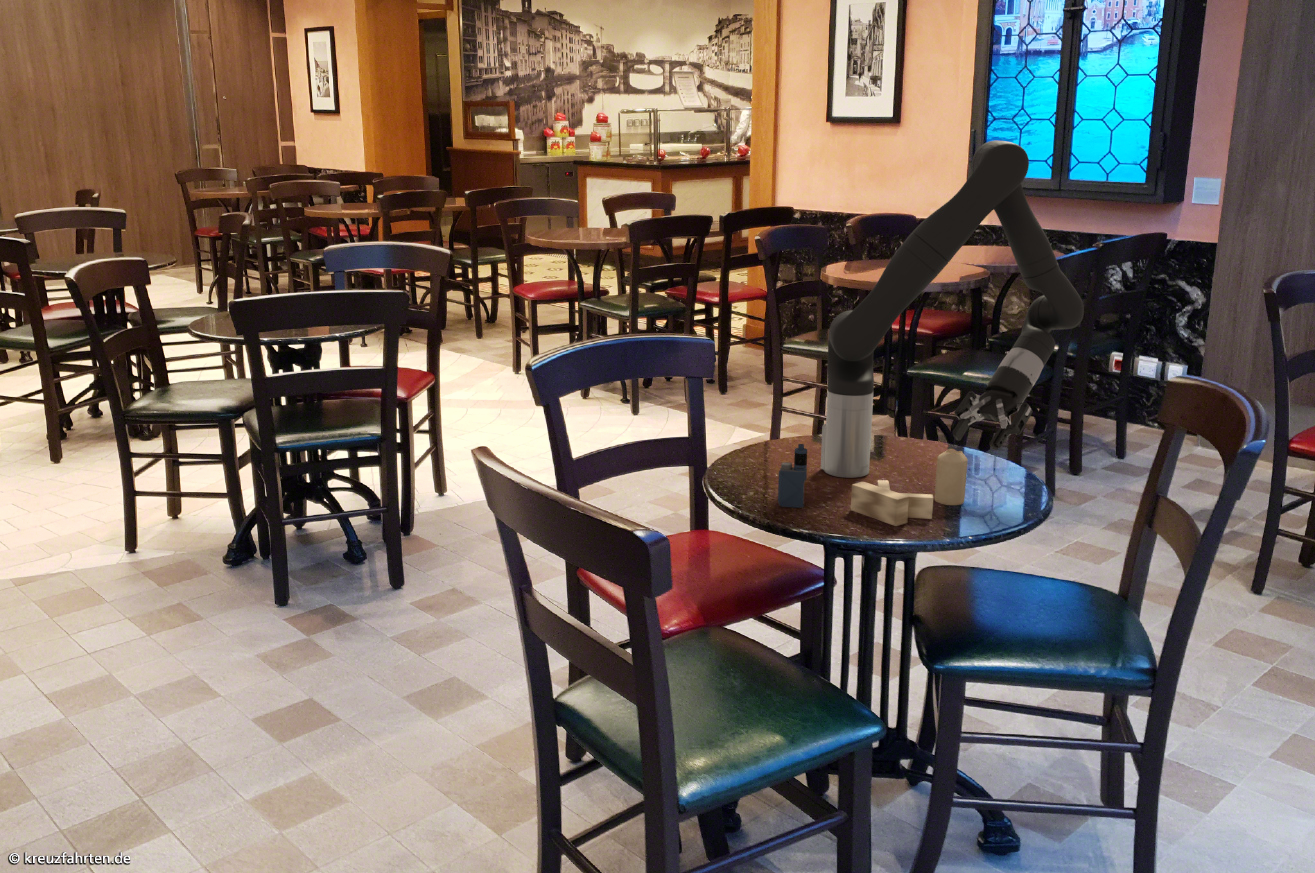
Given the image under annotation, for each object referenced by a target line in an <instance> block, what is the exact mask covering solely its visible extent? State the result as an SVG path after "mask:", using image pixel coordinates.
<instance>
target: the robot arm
mask: <svg viewBox="0 0 1315 873" xmlns="http://www.w3.org/2000/svg"><path fill="white" fill-rule="evenodd" d="M970 165H971V166H970V167H971V173H972V174H971V175H970V176H969V178H968V179H967V181H965V182H964V184H963V185H962V187H961V188H960V189H959V190H958V191H957V193H956V194H954V196H952V198H950V199H949V200H948V201H947V202H945V203H944V204H943V205H941V206H940V207H939V208H937V209H936V210H935V211H934V212H932V213H931V214H930V215H929V216H928V217H926V218H925V219H924V220H923V221H922V222H920V224H918V225H917V226H916V228H915V229H914V230H913V231H912V232H911V233H910V234H909V235H908V236H907V238H906V239H905V240H903V242H902V244H901V245H900V246H899V247H898V248H897V250H896V251H895V252H894V254H893V255H892V257H891V259H890V260H889V261H888V263H887V265H886V267H885V268H884V270H883V272H882V274H881V275H880V277H879V278H878V280H877V283H876V284H875V285H874V287H873V288H872V289H871V291H870V292H869V293H868V295H867V296H866V297H865V298H864V299H863V300H862V301H861V302H859V304H858V305H857V306H856V307H855V308H854V309H853V310H852V309H851V310H846V311H843V312H841V313H839V314H838V315H836V316H835V318H833V320H832V322H831V323H830V325H829V329H828V339H827V340H828V341H827V368H826V370H827V371H826V372H827V392H826V393H827V396H826V417H825V418H826V419H825V420H826V421H825V422H826V423H824V424H823V425H822V427H821V428H822V430H821V449H820V450H821V454H820V469H821V470H823V472H825V473H826V474H827V475H830V476H833V477H838V478H845V479H846V478H848V479H849V478H850V479H851V478H861V477H864V476H867V475H869V473H870V460H871V458H870V457H871V447H872V446H871V444H872V442H871V441H872V424H873V403H874V385H875V384H874V383H875V379H874V351H875V350H876V348H878V345H879V344H880V343H881V341H882V340H883V338H884V337H885V335H886V334H887V332H888V331H889V330H890V328H891V327H892V326H893V324H894V322H895V321H896V320H897V319H898V318H899V316H900V315H901V314H902V313H903V312H904V311H905V309H907V307H908V306H910V305H911V303H912V302H913V301H915V300H916V299H917V298H918V297H919V295H920V294H921V293H922V292H924V291H925V290H926V289H927V287H928V286H929V285H930V284H931V283H932V281H934V280H935V279H936V278H937V276H938V275H940V273H941V272H943V269H944V268H945V267H946V266H947V265H949V263H950V262H951V260H952V259H953V258H954V257H955V255H956V254H957V253H958V252H959V250H960V249H961V248H962V247H963V246H964V245H965V243H967V241H968V240H969V239H970V238H971V236H972V235H973V234H974V232H975V231H976V229H977V228H978V227H979V226H980V224H981V223H982V222H983V221H984V220H985V219H986V217H987V216H988V215H990V214H991V212H993V210H994V212H995V214H996V216H997V219H998V221H999V222H1000V225H1001V227H1002V230H1003V232H1004V234H1005V236H1006V239H1007V242H1008V244H1009V247H1010V249H1011V252H1012V255H1013V256H1014V259H1015V262H1016V265H1017V268H1018V271H1019V272H1020V274H1021V277H1022V281H1023V283H1024V284H1025V286H1026V287H1027V288H1028V289H1030V290H1032V291H1036V292H1039V293H1041V294H1042V295H1040V296H1039V297H1037V298H1036V299H1035V300H1033V302H1032V303H1031V304H1030V305H1029V307H1028V310H1027V311H1026V316H1025V318H1024V322H1023V325H1022V328H1021V332H1020V335H1019V336H1018V338H1017V339H1016V341H1015V342H1014V344H1013V345H1012V347H1011V349H1010V350H1009V351H1008V352H1007V354H1006V355H1005V356H1004V358H1003V359H1002V361H1001V362H1000V364H999V365H998V367H997V369H996V370H995V372H994V373H993V375H992V376H991V378H990V380H989V381H988V383H987V384H986V389H985V391H984V392H983V393H982V394H981V395H980V394H977V393H975V392H974V390H969V391H968V392H967V393H966V395H965V396H964V398H963V399H962V401H961V402H960V403H959V405H958V406H957V407H956V408H955V409H954V412H953V413H954V415H955V416H956V417H957V419H958V422H957V423H956V425H955V427H954V428H953V430H952V436H953V438H954V439H955V440H956V441H961V440H962V439H963V437H964V435H965V434H966V432H967V431H968V430H969V428H970V425H972V424H973V423H975V422H980V421H983V420H988V421H994V422H997V423H1000V424H999V425H1000V428H997V430H996V432H995V433H994V435H993V437H992V438H991V440H990V441H989V446H990V448H991V449H992V450H994V451H997V450H998V449H1000V448H1002V447H1003V445H1004V443H1005V441H1006V440H1007V438H1008V437H1009V436H1011V435H1013V434H1014V435H1016V436H1019V435H1021V434H1022V433H1023V430H1024V429H1025V427H1026V425H1027V423H1028V421H1029V420H1030V417H1031V416H1032V414H1033V410H1032V408H1031V406H1030V405H1029V404H1028V402H1025V400H1026V399H1027V397H1028V395H1029V394H1030V393H1031V391H1032V389H1033V387H1034V386H1035V384H1036V382H1037V381H1038V379H1039V378H1040V375H1041V373H1042V370H1043V369H1044V367H1045V365H1046V364H1047V362H1048V360H1049V359H1050V357H1051V356H1052V354H1053V352H1054V350H1055V348H1056V341H1055V339H1054V337H1053V336H1052V335H1051V334H1050V332H1052V331H1055V330H1056V331H1057V330H1071V329H1074V328H1076V327H1077V326H1079V325H1080V324H1081V322H1082V321H1083V319H1084V315H1085V314H1084V313H1085V312H1084V311H1085V308H1084V303H1083V300H1082V297H1081V296H1080V294H1079V293H1078V291H1077V289H1076V288H1075V287H1074V286H1073V284H1072V282H1071V281H1070V280H1069V279H1068V277H1067V276H1066V274H1065V273H1064V272H1063V271H1062V269H1061V268H1060V266H1059V263H1058V259H1057V258H1056V255H1055V252H1054V250H1053V247H1052V244H1051V242H1050V241H1049V238H1048V237H1047V234H1046V233H1045V231H1044V229H1043V227H1042V226H1041V224H1040V222H1039V221H1038V219H1037V217H1036V216H1035V214H1034V211H1033V210H1032V208H1031V206H1030V204H1029V202H1028V200H1027V198H1026V195H1025V192H1024V188H1023V185H1022V183H1023V182H1024V180H1025V178H1026V176H1027V174H1028V171H1029V166H1030V160H1029V157H1028V154H1027V151H1026V150H1025V149H1024V148H1023V147H1022V146H1020V145H1019V144H1017V143H1013V142H1011V141H1005V140H990V141H987V142H985V143H983V144H981V145H980V146H979V147H978V148H977V149H976V151H975V153H974V154H973V156H972V159H971V164H970ZM978 411H979V413H978ZM1015 413H1016V414H1015ZM1013 415H1014V418H1013V420H1012V421H1011V416H1013Z"/></svg>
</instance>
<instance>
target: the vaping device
mask: <svg viewBox="0 0 1315 873" xmlns="http://www.w3.org/2000/svg"><path fill="white" fill-rule="evenodd" d="M797 445H798V446H797V447H796V448H794V456H793V458H794V459H793V460H794V461H793V462H794V463H792V462H787V461H786V462H781V466H780V468H779V471H778V488H777V503H778V506H780V507H783V508H797V509H798V508H799V509H800V508H801V509H802V508H804V507H805V503H804V500H805V499H804V498H805V482H806V481H807V478H808V475H807V473H808V471H807V470H808V449H807V448H805V444H804V443H799V444H797Z"/></svg>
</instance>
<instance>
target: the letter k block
mask: <svg viewBox="0 0 1315 873" xmlns="http://www.w3.org/2000/svg"><path fill="white" fill-rule="evenodd" d="M890 487H891V486H890V483H889V480H886V479H885V480H884V479H883V480H882V479H877V484H876V485H875V484H872V483H868V482H865V481H860V482H856V483H853V484H851V496H850V497H851V499H850V511H853V512H855V513H857V514H861V515H864V516H866V517H869V518H872V519H876V520H878V521H880V522H882V523H886V524H889V525H892V526H894V527H898V526H901V525H905V524H907V523H908V519H909V518H911V519H927V520H928V519H929V520H933V510H934V509H933V508H934V495H933V493H931V494H930V493H928V494H926V493H910V492H909V493H906V492H905V493H904V492H903V493H902V492H896V491H894V490H891V488H890Z"/></svg>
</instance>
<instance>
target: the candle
mask: <svg viewBox="0 0 1315 873" xmlns="http://www.w3.org/2000/svg"><path fill="white" fill-rule="evenodd" d="M936 458H937V460H936V461H937V462H936V473H935V487H934V490H935V491H934V501H935V502H936V503H938V504H941V505H946V506H960V505H963V504H964V502H965V499H966V498H965V497H966V485H967V472H968V460H969V459H968V458H967V457H966V455H965V454H964V453H963V450H959V451H958V450H955V449H954V448H948V449H946V450H945V451H944V452H942V453H941V454H939V455H937V457H936Z"/></svg>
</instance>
